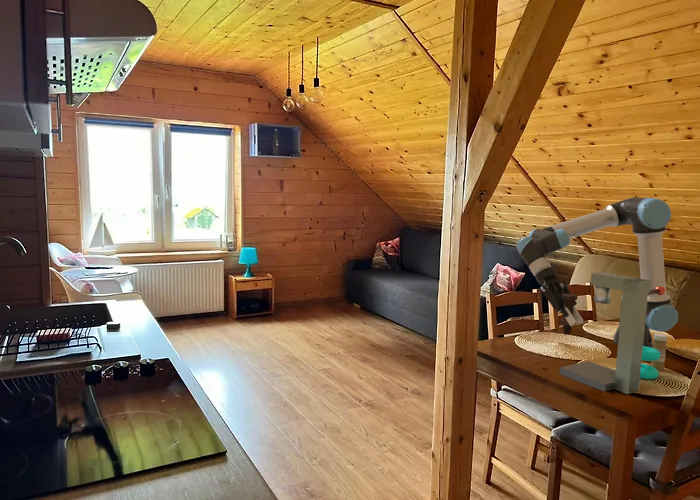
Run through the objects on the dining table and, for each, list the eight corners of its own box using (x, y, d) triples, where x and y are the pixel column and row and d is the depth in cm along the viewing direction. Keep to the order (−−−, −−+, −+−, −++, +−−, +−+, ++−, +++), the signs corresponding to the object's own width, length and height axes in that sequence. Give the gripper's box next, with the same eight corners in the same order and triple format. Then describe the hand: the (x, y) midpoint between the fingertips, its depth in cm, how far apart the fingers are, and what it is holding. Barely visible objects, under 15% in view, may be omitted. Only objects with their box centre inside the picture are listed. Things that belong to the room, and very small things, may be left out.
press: (559, 374, 192) (567, 271, 187) (600, 363, 204) (608, 267, 199) (620, 397, 172) (631, 283, 167) (661, 384, 184) (672, 277, 179)
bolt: (572, 336, 194) (575, 296, 192) (557, 334, 196) (561, 294, 195) (574, 333, 199) (578, 294, 197) (560, 331, 201) (564, 292, 200)
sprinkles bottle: (652, 370, 198) (655, 335, 197) (648, 366, 203) (652, 332, 201) (665, 371, 197) (669, 336, 196) (662, 367, 202) (665, 333, 200)
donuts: (663, 348, 192) (658, 355, 185) (660, 375, 194) (655, 382, 186) (633, 343, 199) (626, 349, 191) (630, 368, 200) (624, 375, 192)
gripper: (551, 275, 212) (584, 326, 200) (522, 278, 204) (555, 331, 192) (563, 264, 207) (598, 315, 195) (534, 267, 199) (569, 320, 187)
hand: (577, 323), depth 194 cm, fingers closed on bolt, 3 cm apart
